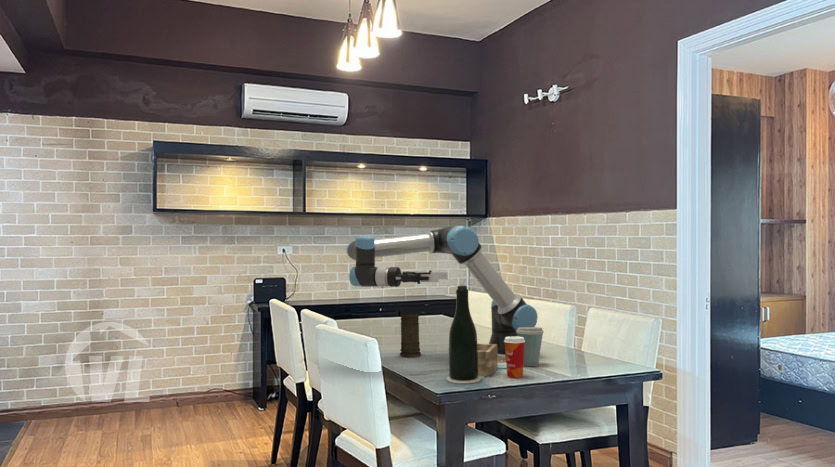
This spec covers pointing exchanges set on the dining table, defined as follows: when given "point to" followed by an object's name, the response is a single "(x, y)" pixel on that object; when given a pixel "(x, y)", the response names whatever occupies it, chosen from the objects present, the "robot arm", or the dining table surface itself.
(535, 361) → the disposable coffee cup
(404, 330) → the container
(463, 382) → the coaster
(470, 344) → the dark green wine bottle
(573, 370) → the dining table surface
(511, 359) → the paper cup
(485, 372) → the wooden box
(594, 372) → the dining table surface
